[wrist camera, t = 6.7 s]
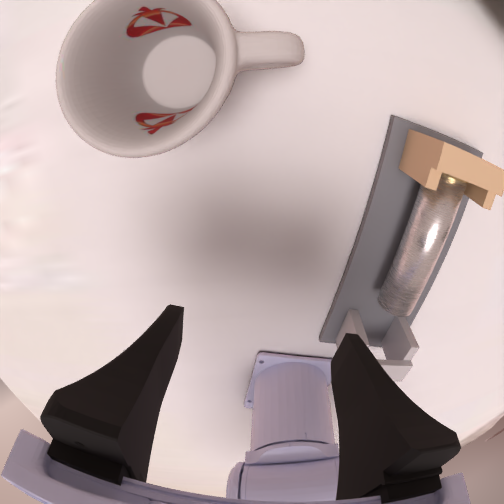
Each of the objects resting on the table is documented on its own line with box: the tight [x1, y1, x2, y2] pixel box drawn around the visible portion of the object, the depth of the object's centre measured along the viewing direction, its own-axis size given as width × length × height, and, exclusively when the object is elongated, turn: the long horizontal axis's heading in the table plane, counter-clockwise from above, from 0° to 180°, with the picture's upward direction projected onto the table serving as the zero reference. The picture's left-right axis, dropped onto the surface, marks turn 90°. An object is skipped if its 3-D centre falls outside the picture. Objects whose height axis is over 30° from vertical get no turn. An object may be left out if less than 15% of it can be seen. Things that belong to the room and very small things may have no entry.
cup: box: [56, 0, 304, 158], centre depth 13 cm, size 11×8×8 cm
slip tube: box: [377, 172, 469, 317], centre depth 19 cm, size 11×3×3 cm, turn 171°
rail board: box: [319, 115, 504, 381], centre depth 20 cm, size 19×8×5 cm, turn 171°
